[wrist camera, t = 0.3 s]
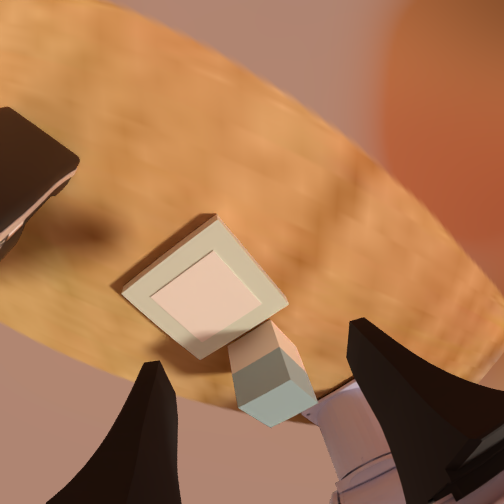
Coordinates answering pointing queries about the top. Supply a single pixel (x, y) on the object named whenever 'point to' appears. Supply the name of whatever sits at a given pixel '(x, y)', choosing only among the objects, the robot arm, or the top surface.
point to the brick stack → (269, 376)
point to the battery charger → (27, 173)
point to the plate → (205, 290)
